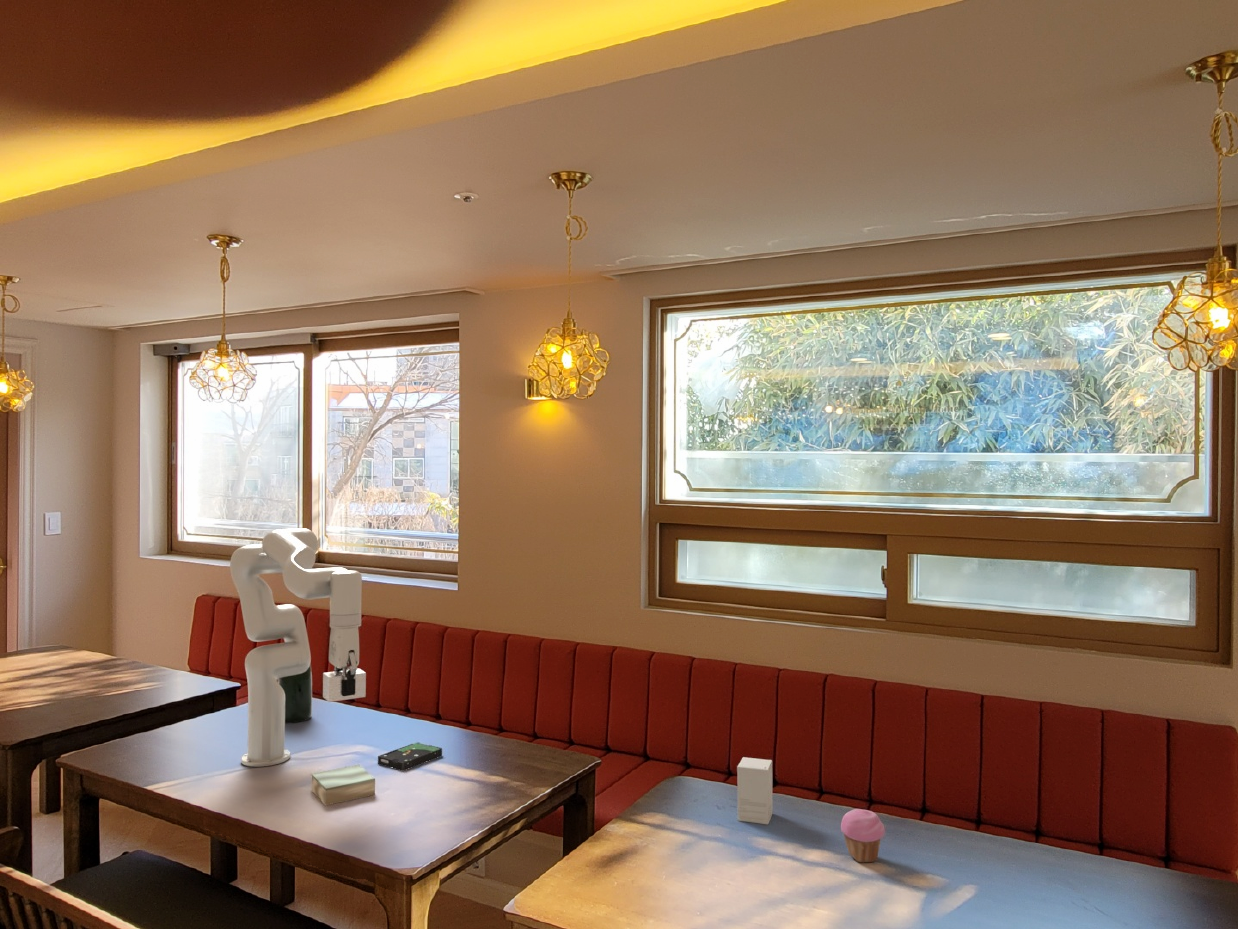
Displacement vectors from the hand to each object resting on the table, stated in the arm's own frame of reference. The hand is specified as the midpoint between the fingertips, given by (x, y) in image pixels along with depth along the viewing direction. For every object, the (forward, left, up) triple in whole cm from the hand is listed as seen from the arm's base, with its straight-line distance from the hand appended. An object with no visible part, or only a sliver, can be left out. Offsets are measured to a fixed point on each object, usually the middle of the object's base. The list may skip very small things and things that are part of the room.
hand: (344, 691), depth 206 cm
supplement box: (+70, +74, -25) cm, 105 cm away
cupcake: (+98, +77, -25) cm, 127 cm away
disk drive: (-13, +23, -26) cm, 37 cm away
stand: (0, 0, -25) cm, 25 cm away
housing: (0, 0, -1) cm, 1 cm away
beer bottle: (-72, +7, -25) cm, 77 cm away
